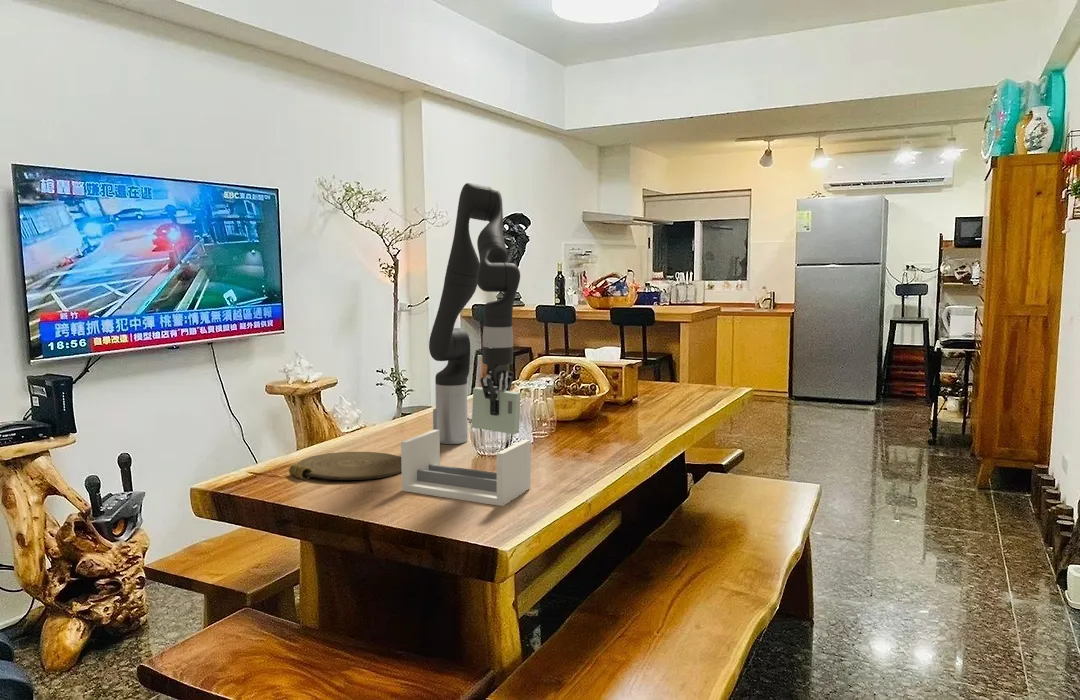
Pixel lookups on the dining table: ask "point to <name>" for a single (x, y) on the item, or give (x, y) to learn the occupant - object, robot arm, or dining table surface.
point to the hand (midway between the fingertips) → (497, 413)
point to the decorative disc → (348, 466)
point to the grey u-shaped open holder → (464, 472)
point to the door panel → (507, 412)
